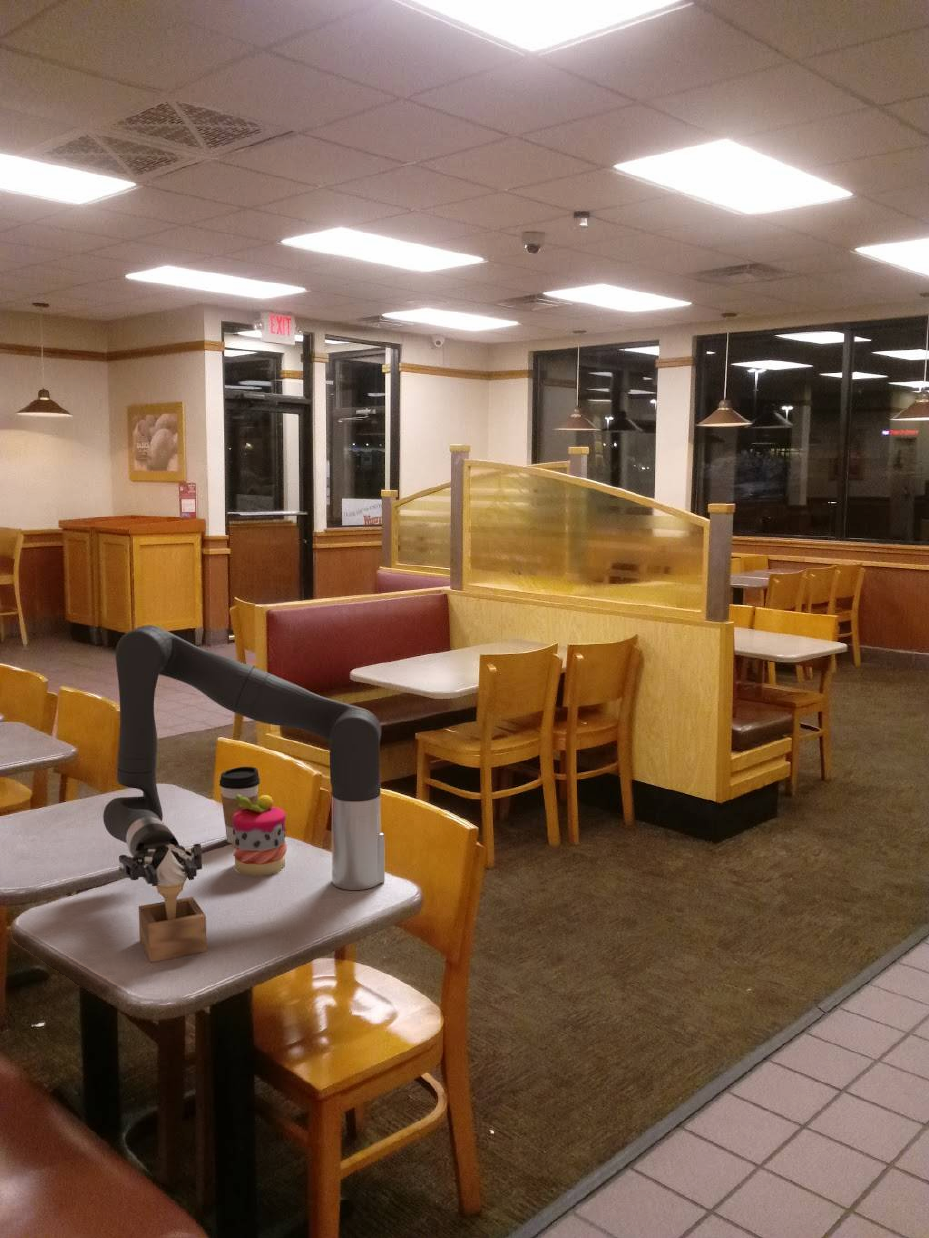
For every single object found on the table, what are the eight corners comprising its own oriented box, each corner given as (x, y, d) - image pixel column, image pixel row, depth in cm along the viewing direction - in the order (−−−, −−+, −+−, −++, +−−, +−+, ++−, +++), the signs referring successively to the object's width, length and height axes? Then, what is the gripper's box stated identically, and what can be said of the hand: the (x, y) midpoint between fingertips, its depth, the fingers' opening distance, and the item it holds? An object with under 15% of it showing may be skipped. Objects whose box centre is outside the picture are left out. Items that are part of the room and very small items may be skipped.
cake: (261, 853, 214) (260, 782, 212) (298, 864, 208) (297, 792, 206) (222, 868, 206) (220, 794, 204) (259, 880, 200) (257, 805, 198)
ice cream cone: (179, 944, 168) (177, 855, 166) (147, 941, 169) (144, 852, 167) (195, 929, 174) (193, 843, 172) (164, 926, 175) (161, 840, 173)
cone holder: (193, 930, 178) (192, 896, 177) (206, 951, 170) (205, 916, 169) (139, 940, 173) (138, 906, 173) (150, 962, 166) (149, 926, 165)
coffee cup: (268, 839, 223) (267, 771, 221) (235, 849, 216) (234, 779, 214) (245, 830, 228) (244, 763, 226) (212, 839, 222) (211, 771, 220)
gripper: (108, 828, 179) (127, 862, 164) (192, 817, 185) (217, 848, 170) (109, 870, 180) (128, 907, 165) (193, 857, 186) (218, 891, 172)
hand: (173, 877), depth 168 cm, fingers closed on ice cream cone, 5 cm apart
